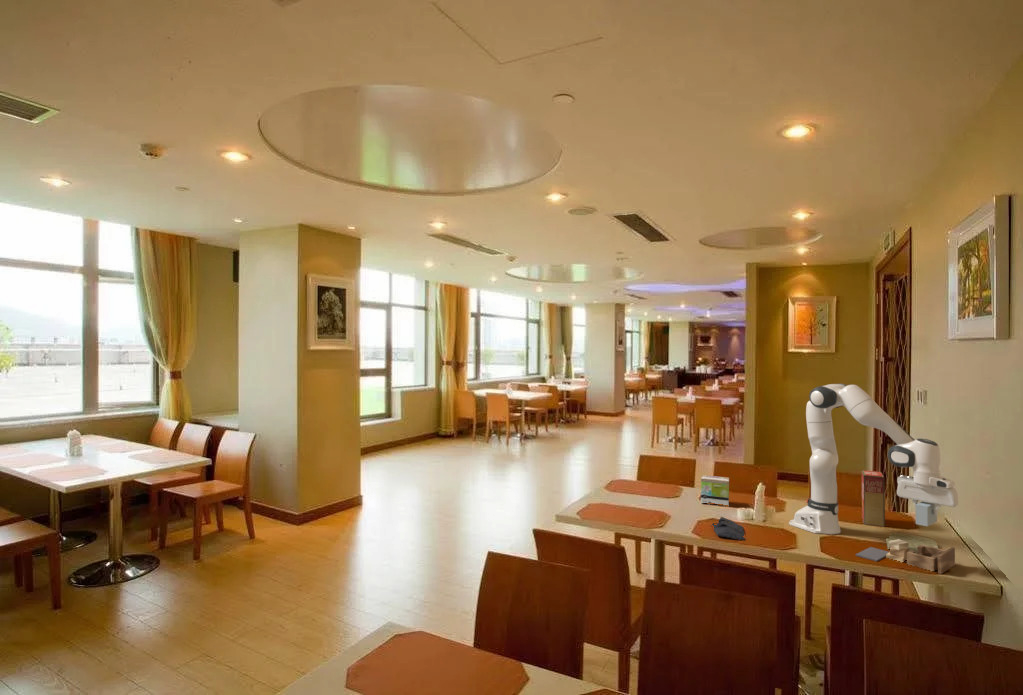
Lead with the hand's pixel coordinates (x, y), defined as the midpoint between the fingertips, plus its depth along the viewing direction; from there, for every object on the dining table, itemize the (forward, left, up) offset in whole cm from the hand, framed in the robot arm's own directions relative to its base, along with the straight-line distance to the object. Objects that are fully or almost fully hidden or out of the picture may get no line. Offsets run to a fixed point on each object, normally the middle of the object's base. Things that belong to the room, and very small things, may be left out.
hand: (926, 512), depth 225 cm
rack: (+2, 0, -21) cm, 21 cm away
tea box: (-103, +7, -21) cm, 105 cm away
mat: (-17, -7, -21) cm, 28 cm away
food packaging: (-36, +43, -21) cm, 60 cm away
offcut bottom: (-9, -2, -22) cm, 23 cm away
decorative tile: (-11, +17, -22) cm, 30 cm away
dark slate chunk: (-70, -32, -22) cm, 79 cm away
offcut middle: (-9, -2, -19) cm, 21 cm away
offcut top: (-9, -2, -17) cm, 19 cm away
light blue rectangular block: (0, 0, -4) cm, 4 cm away
